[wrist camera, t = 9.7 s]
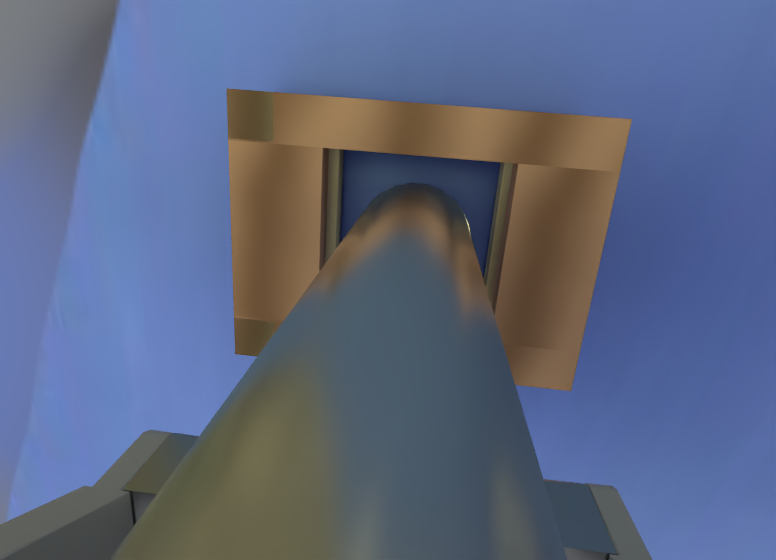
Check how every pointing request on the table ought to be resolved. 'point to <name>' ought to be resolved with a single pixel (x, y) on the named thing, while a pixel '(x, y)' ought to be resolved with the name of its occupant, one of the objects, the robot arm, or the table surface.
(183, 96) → the table surface
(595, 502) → the robot arm
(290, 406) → the silver metal cylinder
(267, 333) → the frame
